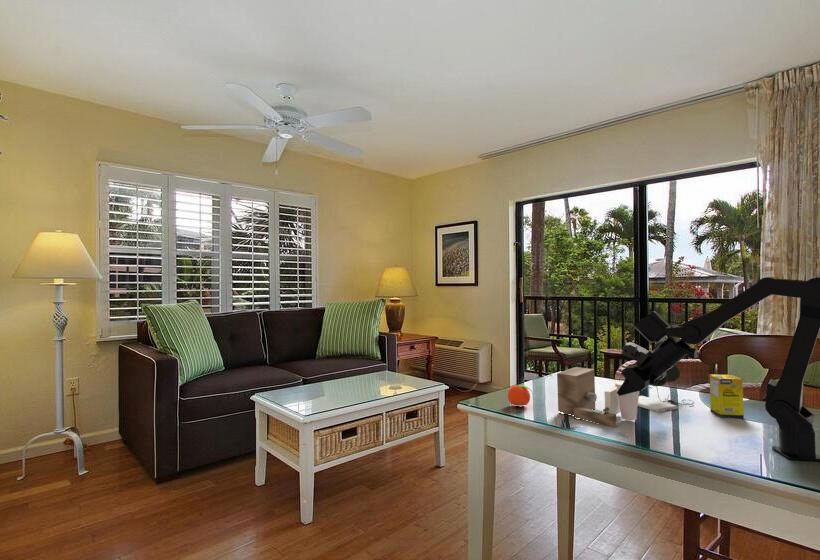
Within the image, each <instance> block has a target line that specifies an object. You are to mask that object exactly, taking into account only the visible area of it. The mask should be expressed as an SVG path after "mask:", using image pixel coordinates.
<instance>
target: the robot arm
mask: <svg viewBox="0 0 820 560" xmlns="http://www.w3.org/2000/svg"><path fill="white" fill-rule="evenodd" d="M772 295H773V296H781V297H787V298H789V297H791V298H799V299H800V300H799V318H798V322H797V324H796V328H795V331H794V334H793V338H792V341H791V343H790V348H789V351H788V354H787V357H786V361H785V363H784V367H783V369H782V372H781V376H780V378H779V380H775V379H773V378H771V379H770V380H769V382H768V383H767V385H766V386H767V387H766V394H765V395H764V397H763V398H762V402H765V404H764V407H765V411H766V412H767V413H768V415H769V416H770V417H772V418H773V419H775V421H776V422H777V423H776V424H777V425H778V443H779V444H778V445H779V446H776V445H775V446H774V445H773V446H771V449H772V450H774V451H775V452H776V453H779V454H781V455H782V456H783V457H784V458H787V459H789V460H791V461H792V460H793V461H813V462H814V461H815V462H818V461H819V462H820V455H818V454H817V451H816V448H817V447H816V431H815V429H814V428H813V426H814V423H815V419H816V415H815V414H814V413H812V411H810V410H809V409H808V408H807V407H805V406H804V405H803V397H804V379H805V376H806V373H807V371H808V366H809V364H810V360H811V358H812V356H813V352H814V348H815V346H816V342H817V339H818V336H819V333H820V276H817V277H812V278H809V279H808V280H804V279H803V280H800V279H789V278H788V279H787V278H776V277H773V276H767V277H762V278H760V279H759V280H758V281H757V282H756V283H755V284H753V285H751V286H749V287H748V288H746V289H745V290H743V291H742V292H740V293H739V294H737V295H735V296H734V297H732V298H731V299H729V300H727V301H726V302H725V303H723V304H721V305H720V306H717V307H716V308H715V309H713V310H711V311H709V312H707V313H705V314H702V315H699V316H697V317H694V318H692V319H689V320H688V321H685V322H683V323H682V324H673V325H671V324H670V323H669V322H667V321H666V319H664V318H663V317H662V316H661V315H660V314H659V313H658V312H657V311H656V310H655V311H652V312H651V313H649V314H647V315H646V316H645V317H643V318H641V319H640V320H639V321H637V322H636V324H635V325H634V329H635V330H636V331H638V332H639V333H640V334H641V335H642V337H644V338H645V339H646V340H647V341H648V342H649V343H650V344H652V343H654V342H655V344H656V343H659V342H660V341H662V340H663V339H666V340H665V341H664V342H663V343H662V344H661V345H659V346H658V347H657V348H656V349H655V348H653V349H652V350H647V349H646V348H645V347H642V346H641V345H639V344H637V343H634V342H631V341H629V342H626V343H625V344H624V346H623V347H622V348H621V353H620V354H621V355H622V356H624V357H628V358H630V359H631V360H633V361H636V362H635V365H630V366H629V365H628V366H627V367H625V368H624V369H623V370H622V371H620V372H621V375H622V376H623V377H624V380H623V381H624V382H623V384H622V385H621V387H620V388H619V390H618V391H617V394H618V395H619V396H621V395H625V394H629V393H633V392H637V391H639V392H642V391H643V390H644V389H646V388H647V387H648V386H650V384H653V383H655V382H657V380H658V381H659V380H661V379H662V378H663V377H665V376H666V371H667V370H669V369H671V368H672V367H673V366H674V365H676V364H677V363H678V362H680V361H681V360H683V358H685V357H686V356H688V357H689V358H690V359H691V360H695V359H697V358H698V357H699V356H698V355H699V354H698V350H699V349H698V347H695V346H691V345H698V344H700V343H703V342H705V341H706V340H707V341H708V339H709V338H710V337H712V336H713V335H714V334H715V333H716V332H717V331H718V330H719V329H720V328H721V327H722V326H724V324H725V323H727V322H728V321H730V320H733V319H734V318H735V317H737V316H739V315H740V314H742V313H743V312H744V311H747V310H749V309H750V308H753V307H754V306H755V305H756V304H758V303H760V302H762V301H763V300H766V298H768V297H770V296H772ZM656 379H657V380H656Z"/></svg>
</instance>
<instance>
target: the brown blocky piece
mask: <svg viewBox="0 0 820 560" xmlns="http://www.w3.org/2000/svg"><path fill="white" fill-rule="evenodd" d="M556 377H557V378H556V380H557V382H556V383H557V384H556V385H557V411H560V412H563V413H567V414H571V415H574V417H576V418H580V419H584V420H588V421H592V422H595V423H594V424H596V423H599V424H598V425H601V424H603V425H602V426H605V425H606V427H610V428H615V427H617V425H618V423H617V414H612V413H608V412H603V410H599V409H596V401H597V398H598V396H597V393H596V385H595V384H596V383H595V369H593V368H586V367H579V366H578V367H577V366H574V367H572V368H569V369H566V370H563V371H560V372H557V373H556ZM594 408H595V409H594ZM592 409H594V410H592ZM574 417H573V418H574Z"/></svg>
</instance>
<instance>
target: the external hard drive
mask: <svg viewBox="0 0 820 560" xmlns="http://www.w3.org/2000/svg"><path fill="white" fill-rule="evenodd" d="M662 401H663V400H661V401H660V399H655V398H651V397H648V396H644V395H639V398H638V407H639V408H643V409H646V410H648V411H653V412H656V413H661V412H666V411H672V410H673V411H674V410H677V409H679V407H678V405H676V404H672V403H670V402H667V401H663V402H662Z"/></svg>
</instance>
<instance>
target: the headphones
mask: <svg viewBox="0 0 820 560" xmlns="http://www.w3.org/2000/svg"><path fill="white" fill-rule="evenodd" d="M666 339H667V338H664V339H663V340H662V341H660V342H659V343H656V342H655V346H654V349H656V348H657V347H658V346H659V345H661V344H662V343H663V342H664V341H665V340H666ZM680 376H681V370H680V368H679V366H678V365H676V364H675V365H674V366H673V367H672V368H671V369H669V370H667V371H666V376H665V377H663V378H662V379H661V380H659V381H658V380H657V379H656V380H657V382H655V383H653V384H650V385H651V386H653V387H656V389H657V393H659V391H658V387H661V386H664V385H666V383H668V384H670V383H674V382H675V381H677V380H679V378H680ZM650 385H649V386H650ZM657 397H658V400H659V401H662V402H664V401H667V403H670V402H671V403H676V404H678V405H681V403H679V402H676V401H674V400H672V399H669V398H670V395H668V396H667V398H664V400H661V399H660V396H659V395H657ZM683 401H684V399H683V400H681V402H682V404H684V405H686V406H687V405H689V407H694V402H692V400H691V399H689V401H691V402H692V403H691V405H690V403H689V402H688V403H687V402H683Z"/></svg>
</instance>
